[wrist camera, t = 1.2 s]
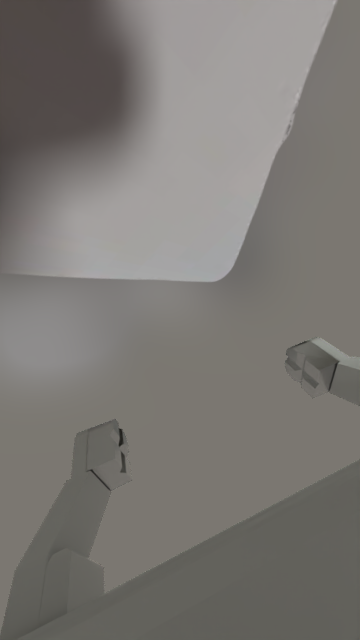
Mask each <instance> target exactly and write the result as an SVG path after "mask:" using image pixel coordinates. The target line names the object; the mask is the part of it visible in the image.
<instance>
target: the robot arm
mask: <svg viewBox="0 0 360 640" xmlns="http://www.w3.org/2000/svg"><path fill="white" fill-rule="evenodd" d="M286 355H287V356H288V358H287V360H286V361H285V368H286V371H287V373H288V374H289V376H290V377H291V378H292V379H293V380H295V381H298V382H300V383H301V388H302V389H304V390H305V391H306V392H307V393H308V394H309V395H310V396H311V397H312V398H315V397H317V396H320V395H322V394H325V393H327V392H329V391H330V393H331V394H334V395H336V396H338V397H340V398H343V399H345V400H347V401H349V402H352V403H354V404H356V405H358V406H360V358H357V357H354V356H353V357H349V356H347V355H346V354H344V353H343V352H341V351H340V350H338V349H337V348H335V347H333V346H332V345H330V344H329V343H327V342H326V341H324V340H323V339H321V338H319V337H315V338H312V339H310V340H307V341H304V342H302V343H299V344H297V345H295V346H292V347H290V348H288V349H287V351H286ZM128 452H129V449H128V443H127V439H126V436H125V433H124V432H123V430H122V429H120V428H119V425H118V422H117V420H116V419H113V420H111V421H108V422H105V423H103V424H100V425H97V426H95V427H92V428H89V429H87V430H84V431H82V432H79V433H77V435H76V437H75V443H74V452H73V461H72V471H71V479H69V480H67V481H66V483H65V484H64V486H63V488H62V490H61V492H60V493H59V495H58V497H57V498H56V500H55V502H54V504H53V505H52V507H51V509H50V510H49V513H48V514H47V516H46V517H45V519H44V521H43V523H42V524H41V526H40V528H39V530H38V531H37V533H36V535H35V537H34V538H33V540H32V542H31V543H30V545H29V547H28V549H27V551H26V552H25V554H24V556H23V557H22V559H21V561H20V563H19V564H18V566H17V568H16V570H15V572H14V577H13V581H12V585H11V590H10V594H9V599H8V603H7V608H6V612H5V616H4V621H3V626H2V630H1V634H0V640H360V459H359V460H357V461H355V462H354V463H352V464H350V465H348V466H346V467H344V468H342V469H340V470H338V471H336V472H334V473H333V474H331V475H329V476H327V477H325V478H323V479H321V480H319V481H317V482H316V483H314V484H312V485H310V486H308V487H306V488H304V489H302V490H300V491H298V492H296V493H295V494H293V495H291V496H289V497H287V498H285V499H283V500H281V501H279V502H277V503H276V504H274V505H272V506H270V507H268V508H266V509H264V510H262V511H260V512H258V513H256V514H255V515H253V516H251V517H249V518H247V519H245V520H243V521H241V522H239V523H237V524H236V525H234V526H232V527H230V528H228V529H226V530H224V531H223V532H220V533H219V534H216V535H215V536H213V537H211V538H209V539H207V540H205V541H203V542H201V543H199V544H198V545H196V546H194V547H192V548H190V549H188V550H186V551H184V552H182V553H180V554H178V555H177V556H175V557H173V558H171V559H169V560H167V561H165V562H163V563H161V564H159V565H158V566H156V567H154V568H152V569H150V570H148V571H146V572H144V573H142V574H140V575H139V576H137V577H135V578H133V579H131V580H129V581H127V582H125V583H123V584H121V585H119V586H118V587H116V588H114V589H112V590H110V591H108V592H106V593H104V568H103V566H101V564H99V563H97V562H95V561H93V560H90V559H89V555H90V552H91V549H92V546H93V543H94V540H95V538H96V535H97V532H98V529H99V526H100V523H101V520H102V517H103V514H104V511H105V509H106V506H107V503H108V500H109V497H110V494H111V491H112V490H114V489H116V488H118V487H120V486H122V485H124V484H126V483H128V482H130V481H132V476H131V468H130V462H129V460H128V459H127V455H128Z"/></svg>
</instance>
